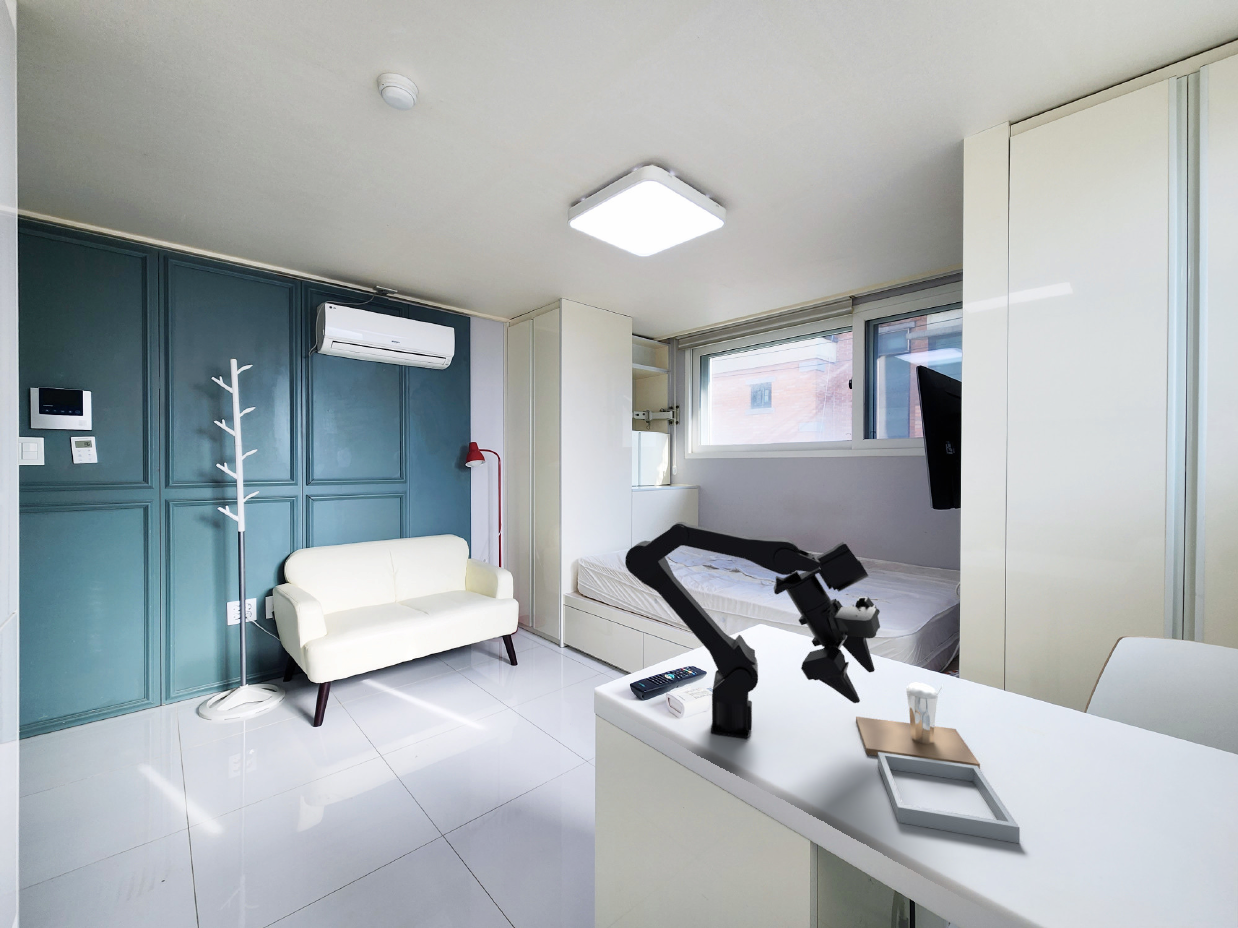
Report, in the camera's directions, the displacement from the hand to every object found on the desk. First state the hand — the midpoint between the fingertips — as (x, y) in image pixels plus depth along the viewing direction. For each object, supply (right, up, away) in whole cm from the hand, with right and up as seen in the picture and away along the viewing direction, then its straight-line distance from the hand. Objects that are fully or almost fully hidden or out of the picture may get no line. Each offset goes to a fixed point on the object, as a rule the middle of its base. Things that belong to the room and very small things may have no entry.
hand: (864, 686), depth 87 cm
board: (+8, -10, 0) cm, 13 cm away
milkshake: (+10, -9, -1) cm, 13 cm away
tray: (+4, -10, -14) cm, 18 cm away
